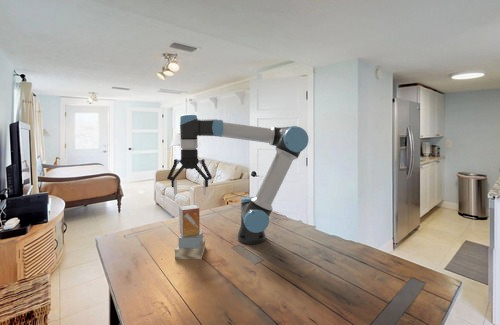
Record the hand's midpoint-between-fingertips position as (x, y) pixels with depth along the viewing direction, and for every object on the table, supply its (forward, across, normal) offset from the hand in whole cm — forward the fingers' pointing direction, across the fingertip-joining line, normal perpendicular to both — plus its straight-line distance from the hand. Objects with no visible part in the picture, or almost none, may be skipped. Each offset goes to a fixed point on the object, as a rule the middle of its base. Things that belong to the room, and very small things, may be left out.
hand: (190, 194), depth 120 cm
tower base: (+29, 0, 0) cm, 29 cm away
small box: (+19, 0, +1) cm, 19 cm away
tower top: (+24, 0, +1) cm, 24 cm away
